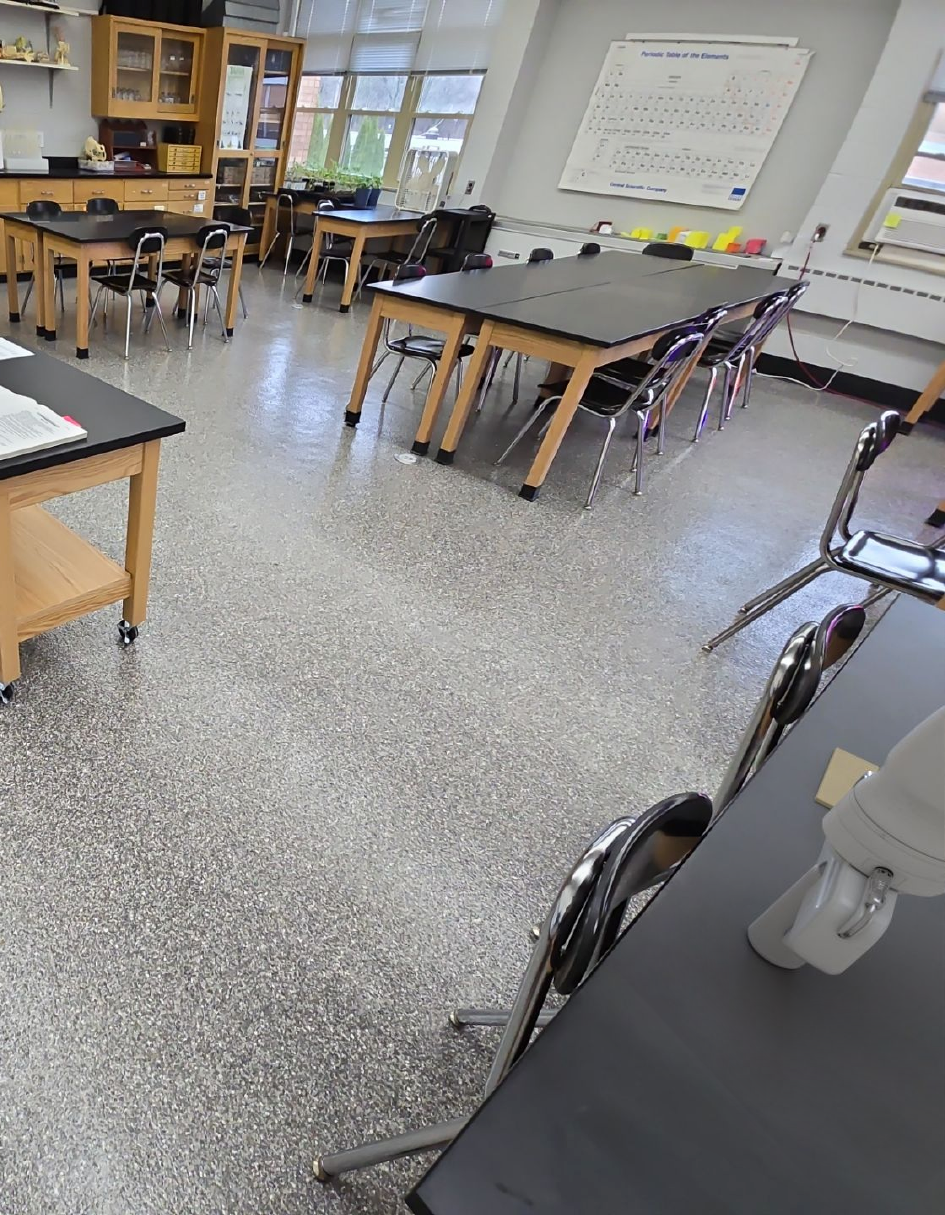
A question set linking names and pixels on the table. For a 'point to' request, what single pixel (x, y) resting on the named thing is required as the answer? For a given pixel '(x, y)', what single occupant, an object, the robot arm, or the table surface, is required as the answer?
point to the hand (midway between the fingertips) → (799, 924)
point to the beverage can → (782, 922)
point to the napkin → (841, 777)
